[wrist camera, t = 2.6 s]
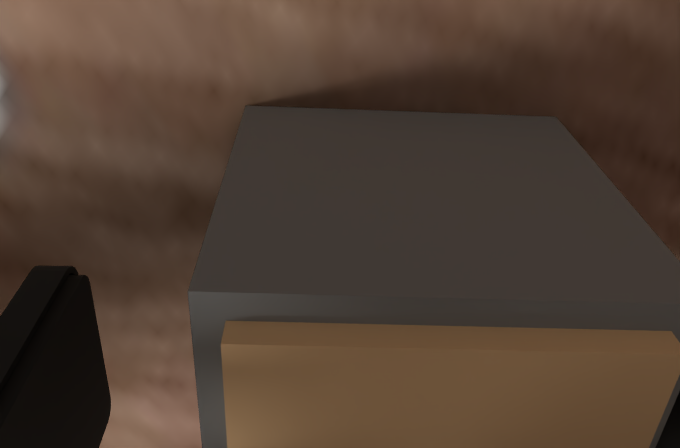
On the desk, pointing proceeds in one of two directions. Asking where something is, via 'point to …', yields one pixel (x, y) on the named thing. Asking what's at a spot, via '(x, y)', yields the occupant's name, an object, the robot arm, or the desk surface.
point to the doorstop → (428, 289)
